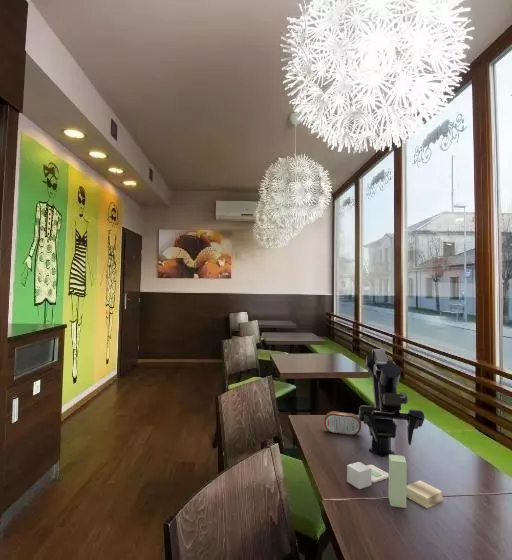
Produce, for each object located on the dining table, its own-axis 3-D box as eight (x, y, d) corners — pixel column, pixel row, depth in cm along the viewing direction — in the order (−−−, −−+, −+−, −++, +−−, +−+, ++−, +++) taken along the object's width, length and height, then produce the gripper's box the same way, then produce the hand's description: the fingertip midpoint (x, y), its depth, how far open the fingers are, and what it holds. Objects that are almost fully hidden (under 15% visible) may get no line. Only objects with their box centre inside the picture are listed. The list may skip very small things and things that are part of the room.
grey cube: (358, 478, 112) (358, 461, 113) (371, 485, 108) (371, 468, 108) (347, 481, 110) (347, 465, 110) (359, 489, 106) (359, 472, 106)
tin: (361, 434, 148) (361, 413, 149) (361, 437, 145) (361, 416, 146) (324, 430, 152) (324, 409, 153) (323, 432, 149) (323, 412, 150)
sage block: (388, 497, 101) (388, 454, 102) (403, 500, 101) (403, 456, 101) (390, 505, 98) (390, 460, 98) (406, 508, 97) (406, 462, 97)
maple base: (419, 490, 106) (419, 480, 107) (442, 502, 100) (442, 491, 101) (404, 497, 103) (404, 486, 103) (427, 509, 97) (427, 498, 97)
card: (371, 466, 120) (371, 463, 120) (391, 476, 113) (391, 474, 113) (353, 471, 116) (353, 469, 116) (373, 483, 109) (373, 480, 109)
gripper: (360, 379, 115) (362, 426, 103) (423, 384, 111) (432, 433, 99) (358, 397, 122) (360, 443, 111) (417, 402, 118) (425, 451, 107)
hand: (393, 442), depth 107 cm, fingers open, 9 cm apart
